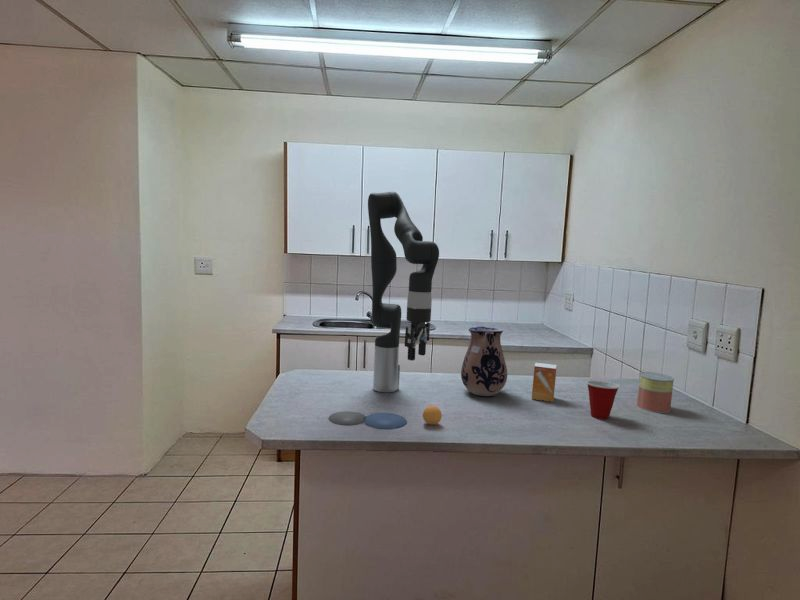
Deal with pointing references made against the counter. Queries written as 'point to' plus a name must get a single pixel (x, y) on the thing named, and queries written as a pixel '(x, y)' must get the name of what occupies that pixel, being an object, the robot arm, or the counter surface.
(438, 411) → the ball
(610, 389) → the plastic cup
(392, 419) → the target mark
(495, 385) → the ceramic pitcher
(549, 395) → the small box
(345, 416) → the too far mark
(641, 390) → the canned food
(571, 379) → the counter surface
